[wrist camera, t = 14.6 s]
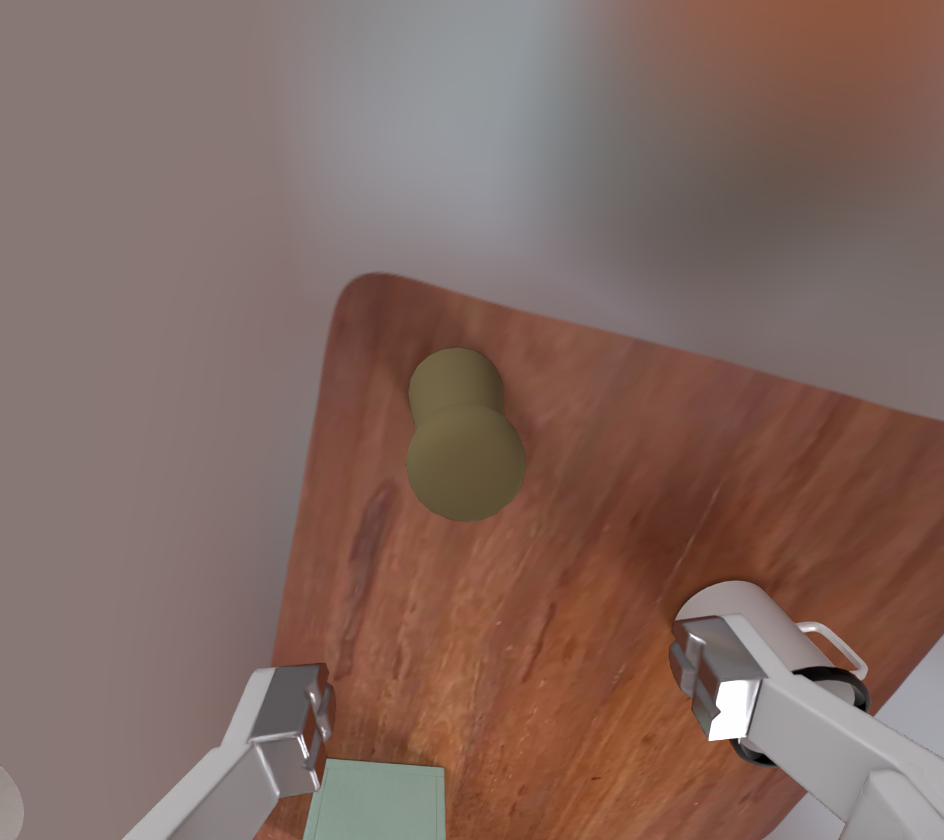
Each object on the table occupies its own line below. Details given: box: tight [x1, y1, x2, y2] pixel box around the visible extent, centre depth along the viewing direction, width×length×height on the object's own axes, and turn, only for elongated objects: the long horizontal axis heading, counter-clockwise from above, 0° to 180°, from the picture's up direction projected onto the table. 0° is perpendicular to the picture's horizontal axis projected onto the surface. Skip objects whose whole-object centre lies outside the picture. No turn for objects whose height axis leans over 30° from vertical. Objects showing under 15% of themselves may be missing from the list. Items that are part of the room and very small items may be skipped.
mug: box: [675, 581, 871, 768], centre depth 33 cm, size 12×10×9 cm
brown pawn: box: [406, 347, 526, 522], centre depth 22 cm, size 6×6×11 cm
